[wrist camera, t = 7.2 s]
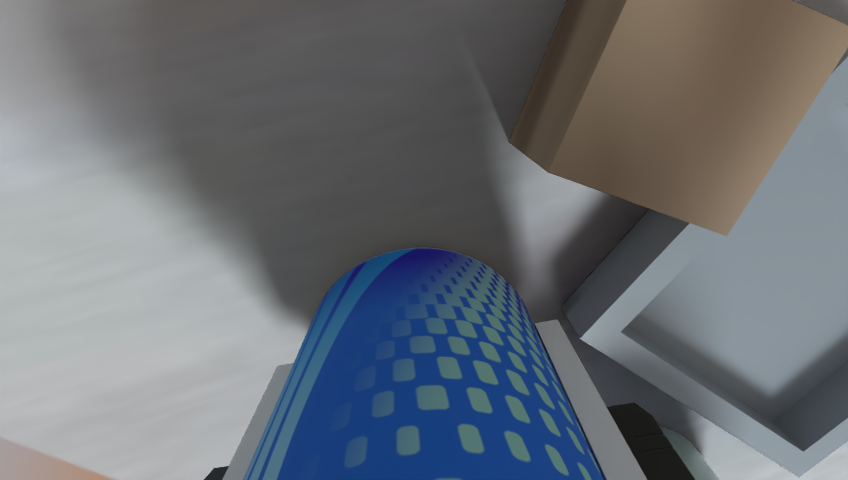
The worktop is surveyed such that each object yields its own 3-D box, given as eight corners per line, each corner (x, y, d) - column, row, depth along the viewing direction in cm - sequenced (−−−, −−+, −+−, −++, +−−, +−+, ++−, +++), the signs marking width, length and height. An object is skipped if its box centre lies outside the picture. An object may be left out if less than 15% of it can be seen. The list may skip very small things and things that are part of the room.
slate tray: (560, 307, 17) (580, 338, 15) (808, 32, 14) (877, 25, 12) (759, 435, 20) (799, 477, 18) (1011, 231, 16) (1097, 254, 14)
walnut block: (508, 141, 15) (548, 172, 10) (572, -14, 13) (654, -62, 9) (634, 187, 16) (726, 236, 11) (711, 44, 14) (859, 30, 9)
